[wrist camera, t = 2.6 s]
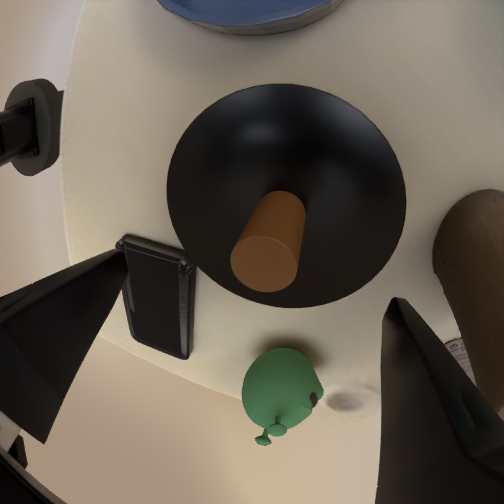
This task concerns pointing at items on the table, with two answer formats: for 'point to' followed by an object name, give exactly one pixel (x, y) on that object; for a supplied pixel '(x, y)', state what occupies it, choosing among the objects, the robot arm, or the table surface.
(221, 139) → the lid
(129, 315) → the phone
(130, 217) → the table surface
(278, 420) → the alien toy
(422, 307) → the table surface
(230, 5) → the pan
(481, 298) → the pillar candle
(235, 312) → the table surface
